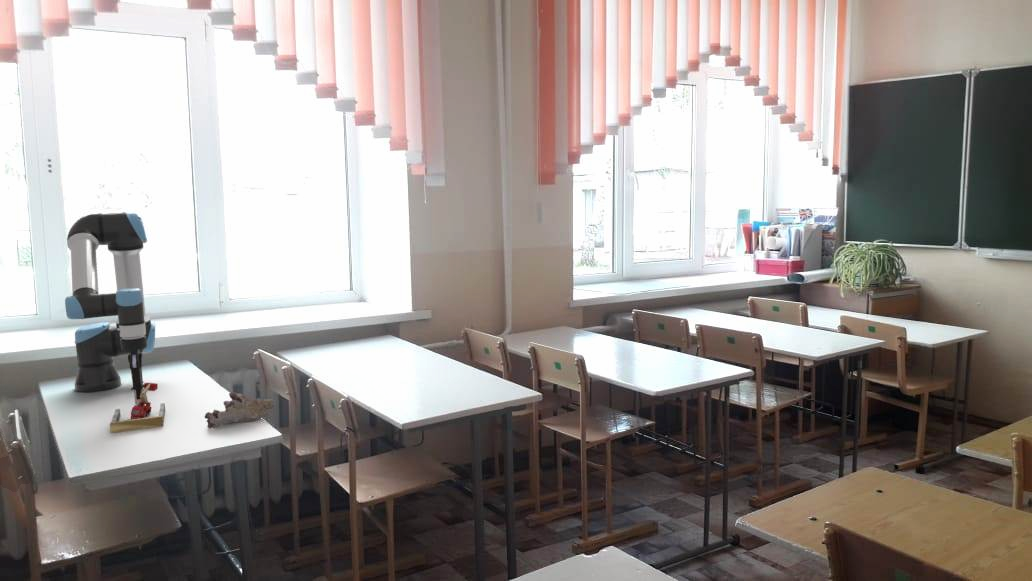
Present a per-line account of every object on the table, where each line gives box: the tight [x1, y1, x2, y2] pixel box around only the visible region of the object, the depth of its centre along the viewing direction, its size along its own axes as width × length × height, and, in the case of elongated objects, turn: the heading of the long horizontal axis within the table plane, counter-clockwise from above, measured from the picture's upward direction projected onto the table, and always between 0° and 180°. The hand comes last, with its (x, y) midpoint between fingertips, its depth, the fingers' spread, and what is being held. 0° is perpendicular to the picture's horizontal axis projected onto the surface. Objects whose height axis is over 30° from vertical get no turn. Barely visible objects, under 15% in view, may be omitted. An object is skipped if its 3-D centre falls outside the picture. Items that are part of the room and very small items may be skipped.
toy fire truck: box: [129, 382, 158, 420], centre depth 247 cm, size 3×14×10 cm, turn 6°
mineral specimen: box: [204, 391, 275, 429], centre depth 240 cm, size 20×10×10 cm
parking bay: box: [109, 402, 166, 434], centre depth 243 cm, size 18×14×3 cm
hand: (140, 407), depth 251 cm, fingers closed
